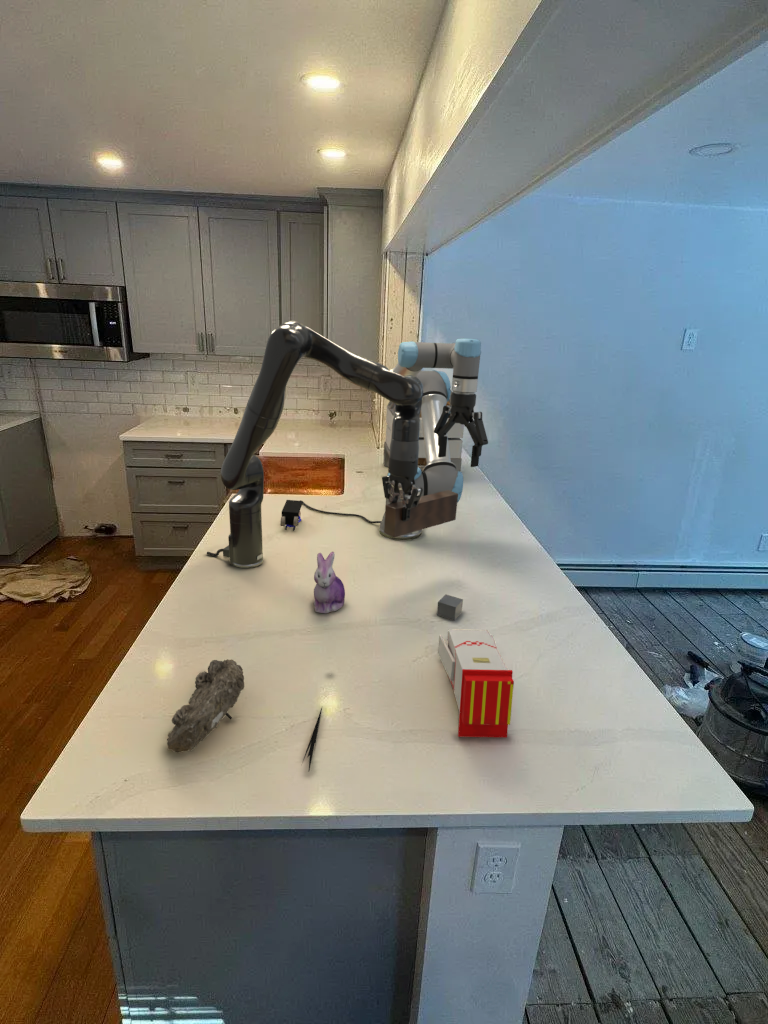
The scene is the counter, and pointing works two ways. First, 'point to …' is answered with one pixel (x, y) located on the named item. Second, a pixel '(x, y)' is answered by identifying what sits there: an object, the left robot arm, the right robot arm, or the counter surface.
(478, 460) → the right robot arm
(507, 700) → the toy
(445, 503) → the walnut bar
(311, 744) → the feather
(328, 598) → the figurine
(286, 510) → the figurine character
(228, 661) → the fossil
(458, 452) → the white slatted crate
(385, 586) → the counter surface
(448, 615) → the slate block
